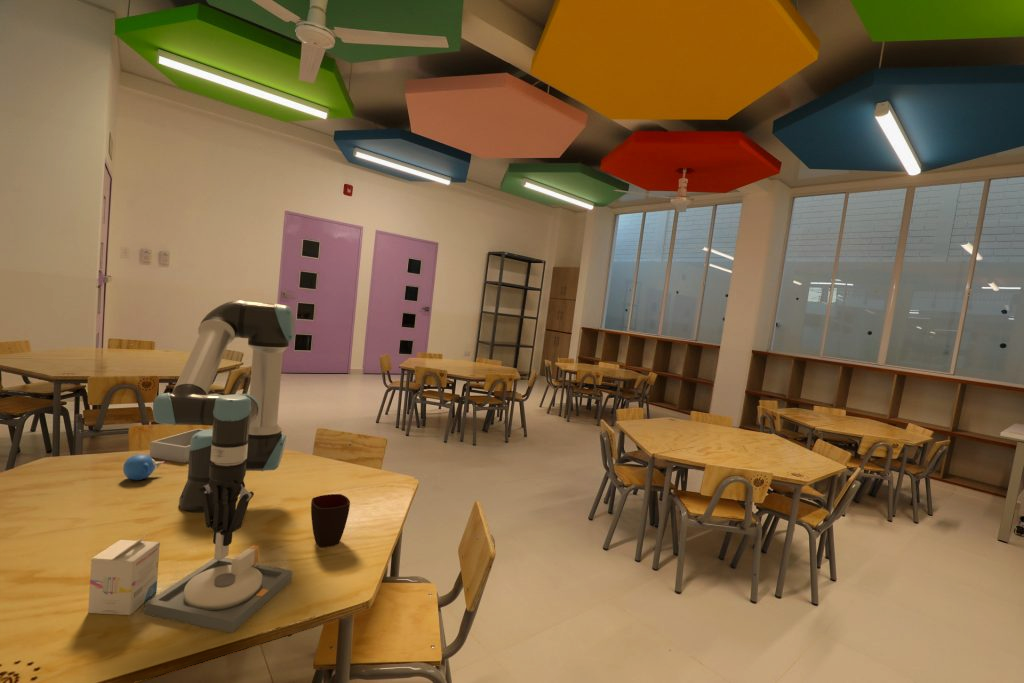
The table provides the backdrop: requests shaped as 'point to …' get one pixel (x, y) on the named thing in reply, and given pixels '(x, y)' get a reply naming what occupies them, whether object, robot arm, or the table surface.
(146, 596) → the ink box
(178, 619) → the dial plate
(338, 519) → the cup
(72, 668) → the table surface
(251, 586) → the dial
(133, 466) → the blue mole toy
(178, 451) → the tray
